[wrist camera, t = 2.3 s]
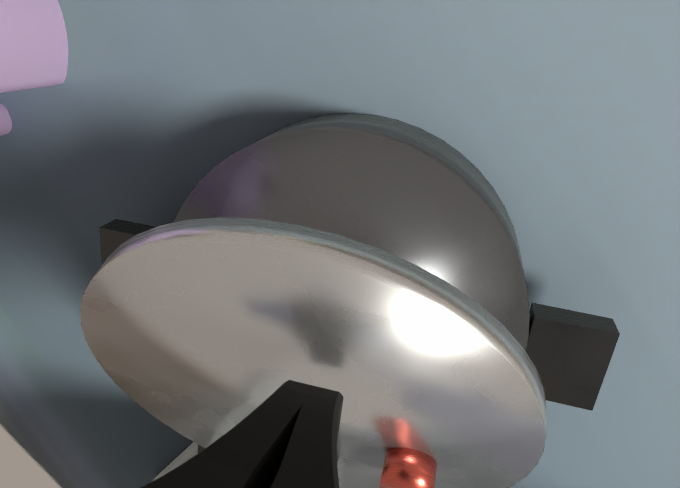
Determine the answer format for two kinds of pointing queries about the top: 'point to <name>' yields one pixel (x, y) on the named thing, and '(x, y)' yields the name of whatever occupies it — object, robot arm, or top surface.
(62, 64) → the pink rounded block
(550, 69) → the top surface
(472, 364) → the cooker lid
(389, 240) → the cooker pot
